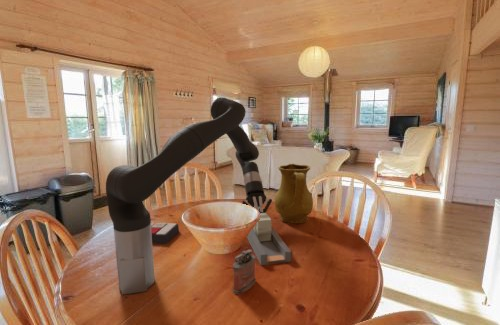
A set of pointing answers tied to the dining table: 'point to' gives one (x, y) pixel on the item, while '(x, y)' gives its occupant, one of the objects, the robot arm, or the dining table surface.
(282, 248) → the chute
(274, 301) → the dining table surface
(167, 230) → the dark box
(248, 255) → the lighter
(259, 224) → the block
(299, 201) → the pitcher
